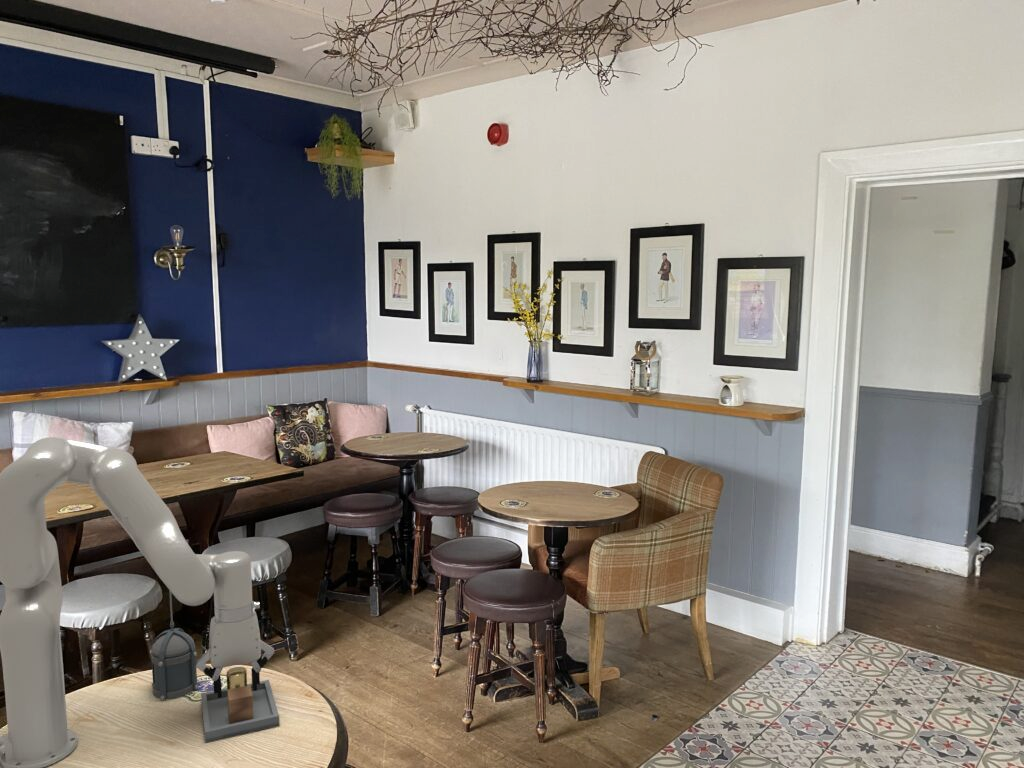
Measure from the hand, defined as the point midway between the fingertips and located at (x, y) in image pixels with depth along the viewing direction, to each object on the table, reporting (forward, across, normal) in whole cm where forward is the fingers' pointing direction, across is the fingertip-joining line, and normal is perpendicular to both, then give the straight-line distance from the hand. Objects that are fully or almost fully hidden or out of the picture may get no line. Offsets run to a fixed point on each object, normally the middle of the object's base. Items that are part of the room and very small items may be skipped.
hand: (237, 690), depth 160 cm
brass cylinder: (+3, 0, 0) cm, 3 cm away
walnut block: (+3, 0, +7) cm, 8 cm away
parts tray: (+3, 0, +4) cm, 5 cm away
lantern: (+4, +12, -14) cm, 18 cm away
